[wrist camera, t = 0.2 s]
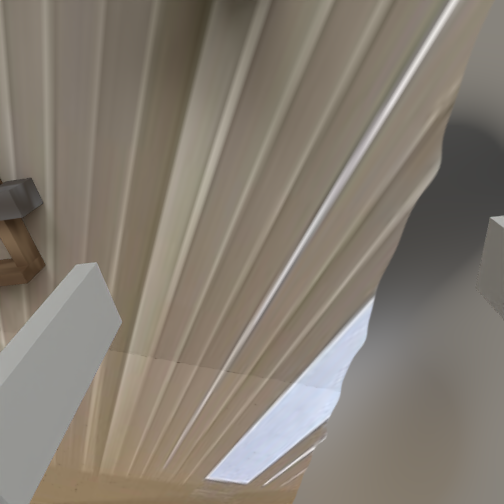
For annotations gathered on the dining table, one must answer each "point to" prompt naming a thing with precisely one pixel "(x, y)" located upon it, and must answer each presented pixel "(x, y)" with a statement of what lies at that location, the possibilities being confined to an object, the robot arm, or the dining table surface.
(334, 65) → the dining table surface
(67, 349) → the robot arm
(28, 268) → the beam slot
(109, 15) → the dining table surface
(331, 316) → the dining table surface
